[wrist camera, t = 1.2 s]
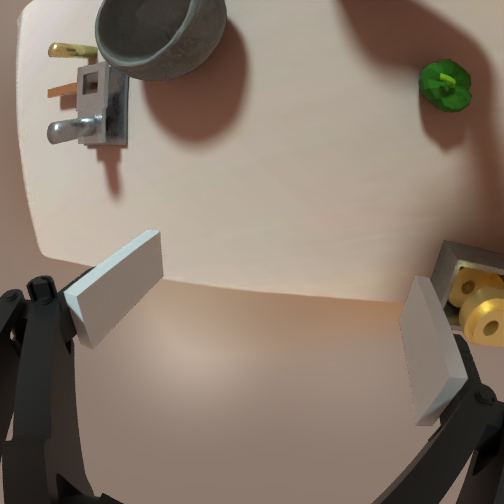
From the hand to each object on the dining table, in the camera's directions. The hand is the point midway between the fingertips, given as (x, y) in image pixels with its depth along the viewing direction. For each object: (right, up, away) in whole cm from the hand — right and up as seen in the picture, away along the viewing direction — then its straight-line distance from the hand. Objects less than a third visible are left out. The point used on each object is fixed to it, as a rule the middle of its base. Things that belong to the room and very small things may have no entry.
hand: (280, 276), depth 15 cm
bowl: (-13, +41, +29) cm, 52 cm away
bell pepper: (+29, +28, +23) cm, 46 cm away
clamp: (+45, -5, +34) cm, 57 cm away
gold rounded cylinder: (-36, +44, +34) cm, 66 cm away
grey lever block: (-37, +33, +39) cm, 63 cm away
